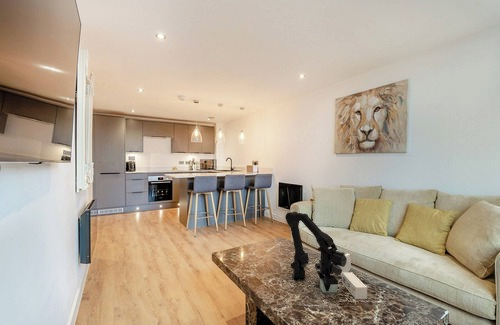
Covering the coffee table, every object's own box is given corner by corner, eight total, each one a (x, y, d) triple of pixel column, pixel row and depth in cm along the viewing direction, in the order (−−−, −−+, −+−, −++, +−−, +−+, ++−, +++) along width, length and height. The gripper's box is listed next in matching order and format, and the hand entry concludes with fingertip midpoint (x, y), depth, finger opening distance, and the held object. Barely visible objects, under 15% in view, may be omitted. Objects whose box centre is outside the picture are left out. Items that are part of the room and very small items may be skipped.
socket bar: (355, 299, 117) (355, 287, 117) (341, 282, 133) (341, 272, 133) (367, 299, 118) (367, 287, 118) (351, 282, 134) (352, 272, 134)
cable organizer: (339, 279, 137) (340, 259, 137) (323, 272, 145) (324, 254, 145) (350, 271, 148) (351, 253, 148) (335, 265, 155) (335, 248, 155)
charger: (322, 292, 122) (323, 283, 122) (319, 287, 127) (320, 278, 127) (341, 292, 123) (342, 282, 123) (338, 287, 127) (338, 278, 127)
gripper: (348, 268, 116) (348, 298, 116) (333, 253, 134) (333, 279, 134) (326, 268, 115) (326, 299, 115) (314, 253, 134) (314, 280, 134)
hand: (325, 288), depth 125 cm, fingers closed on charger, 4 cm apart
